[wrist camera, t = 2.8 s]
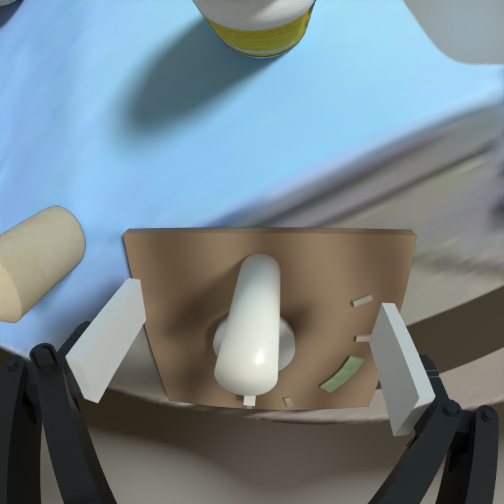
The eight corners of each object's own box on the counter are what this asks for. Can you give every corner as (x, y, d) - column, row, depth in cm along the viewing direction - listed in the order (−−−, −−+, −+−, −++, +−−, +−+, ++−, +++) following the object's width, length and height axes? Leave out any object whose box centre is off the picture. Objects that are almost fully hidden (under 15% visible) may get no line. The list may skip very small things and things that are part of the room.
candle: (93, 266, 23) (21, 341, 14) (49, 265, 23) (-21, 329, 14) (77, 201, 20) (-15, 259, 11) (33, 208, 21) (-51, 259, 12)
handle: (214, 248, 20) (171, 344, 11) (309, 257, 19) (324, 360, 11) (217, 395, 26) (198, 480, 18) (282, 401, 26) (279, 489, 17)
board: (171, 393, 29) (168, 402, 28) (129, 228, 21) (121, 235, 20) (367, 398, 27) (369, 408, 26) (411, 230, 19) (418, 236, 18)
